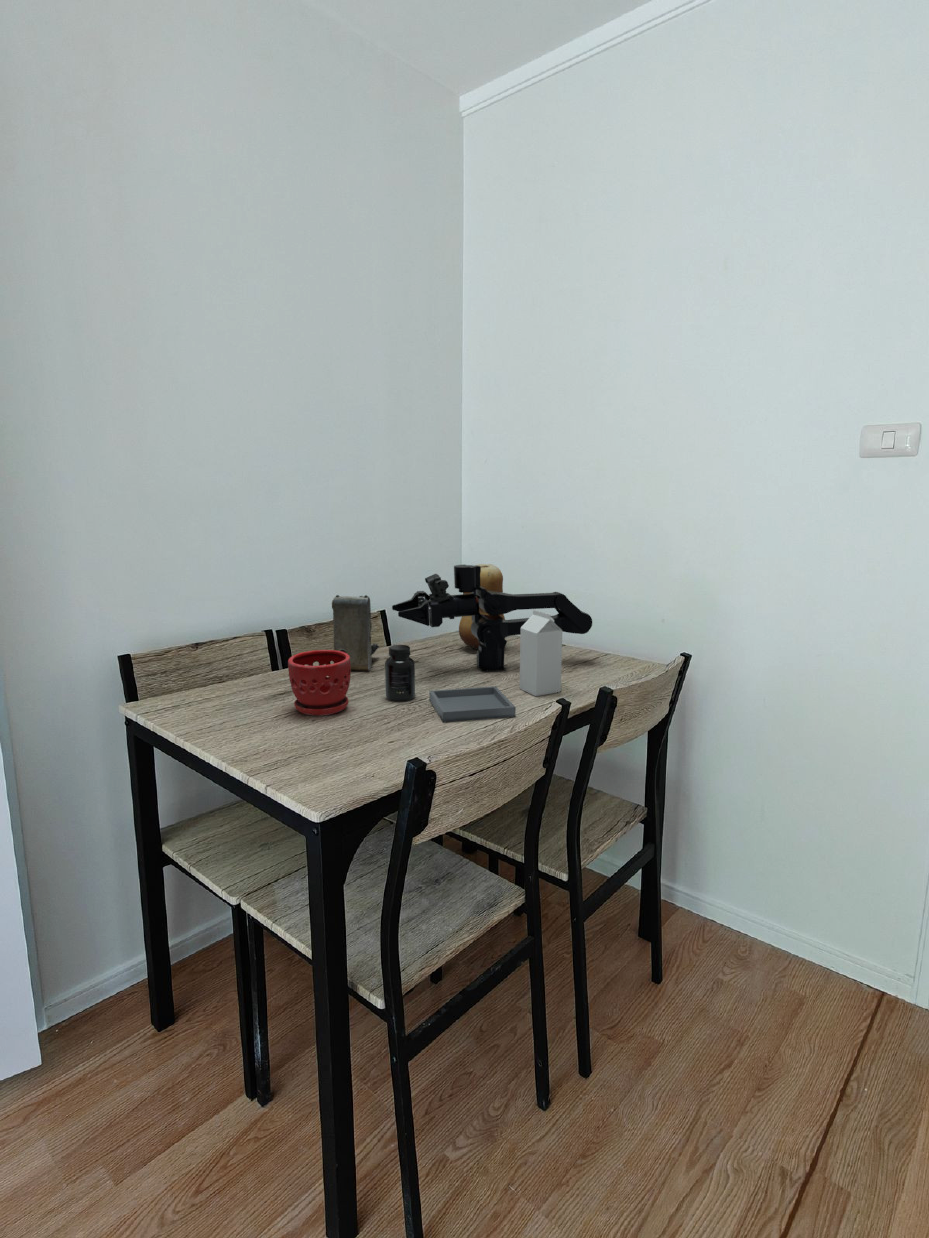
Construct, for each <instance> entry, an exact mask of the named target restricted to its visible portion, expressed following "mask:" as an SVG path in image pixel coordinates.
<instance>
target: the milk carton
mask: <svg viewBox="0 0 929 1238" xmlns="http://www.w3.org/2000/svg"><path fill="white" fill-rule="evenodd" d="M551 616H552V615H551V614H550V613H546V612H542V611H539V610H537V609H532V615H531V616H530V617H528V618H529V619H528V620H527V621H526V622H525V623H524V625H523V626H522V627H521V635H520V638H519V639H520V640H519V641H520V644H519V645H520V646H519V647H520V648H519V650H520V651H519V653H520V655H519V689H520V690H521V691H524V692H526V693H528V694H530V695H532V696H534V697H538V696H545V695H552V694H557V692H558V693H561V692H560V691H562V661H563V657H562V656H563V632H562V630H561V629H560V628H559V627H558V626H557V625H556V624H555V623H554V619H553V618H551Z"/></svg>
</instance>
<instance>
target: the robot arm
mask: <svg viewBox="0 0 929 1238" xmlns="http://www.w3.org/2000/svg"><path fill="white" fill-rule="evenodd" d="M478 565H479V564H476V566H475V564H474V565H473V564H470V565H469V564H457V565H453V578H454V580H453V581H454V582H453V583H454V589H457V590H458V592H459V594H450V593H448V592H447V589H448V588H449V587H450V586H449V583H448V581H447V580H446V579H441V578H442V577H441V576H440V575H439V574H438V573H434V574H432V575H429V576H428V577H425V578H424V581H425V583H426V584H427V586H428V589H429V591H430V593H429V594H428V593H427V592H426V591H424V590H417V591H416V592H414V593H413V596H412V597H411V598H410V599H407V600H405V601H402V602H399V603H397V604H393V605H391V609H392V611H395V612H397V613H398V617H399V618H402V619H404V620H409V621H412V622H415V623H418V624H421V625H424V626H427V627H430V628H438V627H440V626H441V625H442V624H443V619H449V620H455V618H462V617H463V616H472V621H473V622H472V625H471V632H472V634H473V635H474V636H475V637H476V638H477V639H478V642H479V643H481V644H482V645H479V650H476V667H477V668H478V669H479V670H480V671H481V672H485V673H486V672H497V671H498V672H500V671H503V672H504V671H506V670H507V668H506V667H505V649H506V647H507V643H508V641H507V639H506V638H508V637H511V636H518V635H520V636H521V627H522V626H523V625H524V623H525V622H526V621H527V620H528V619H529V618H530V617H525V618H514V619H513V618H511V619H505V620H503V617H501V616H499V615H501V614H504V615H505V614H508V613H511V612H513V611H518V610H538V609H539V610H542V609H544V610H545V609H554V610H555V611H556V612H557V614H554V615H551V618H553V619H554V623H555V624H556V625H557V626H558V627H559V628H560V629H561V630H562V633H563V632H564V633H569V634H577V635H578V634H580V635H585V634H587V633H589V632H590V630H591V629H592V626H593V618H592V616H591V615H590V614H589V613H587V612H584V611H582V610H580V608H578V606H576V605H575V604H574V603H573V602H572V601H570V599H569V598H568V597H567V595H565V594H564V593H562V592H560V591H559V592H558V591H553V592H541V593H539V592H538V593H519V594H518V593H517V594H516V593H514V594H513V593H507V592H504V591H503V592H496V591H486V589H485V588H483V587H481V586H480V573H481V567H480V566H478ZM469 592H471V594H463V593H469ZM460 593H461V594H460ZM476 597H477V598H478V602H477V601H476ZM479 607H480V608H481V609H482V610H483V611H484V612H486V613H488V614H489V615H483V614H482V615H481V614H480V613H479ZM505 637H506V638H505ZM504 638H505V639H504Z"/></svg>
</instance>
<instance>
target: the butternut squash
mask: <svg viewBox="0 0 929 1238" xmlns="http://www.w3.org/2000/svg"><path fill="white" fill-rule="evenodd" d="M476 565H478V566H480V567H481V573H480V586H481V587H483V588H485V589H486V591H496V592H503V593H504V591H503V590H504V589H503V587H504V585H503V584H504V582H503V581H504V576H503V573H502V571H501V569H500V568H499V567H498V566H496V565H494V564H491V563H490V564H487V563H480V564H476ZM476 565H475V564H474V566H476ZM462 594H471V592H469V593H462ZM476 601H477V602H478V598H477V597H476ZM479 613H480V614H481V615H482V614H483V615H489V614H488V613H486V612H484V611H483V610H482V609H481V608H480V607H479ZM499 616H501V617H503V620H506V618H505V614H501V615H499ZM472 622H473V621H472V616H463V617H460V621H459V625H458V635H459V637H460V640H462V643H464V644H465V645H466V646H468V647H471V648H472V649H473V648H474V649H475V650H476V651H479V645H482V644H481V643H479V642H478V639H477V638H476V637H475V636H474V635H473V634H472V632H471V625H472ZM506 638H507V637H505V638H504V639H505V640H506Z"/></svg>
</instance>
